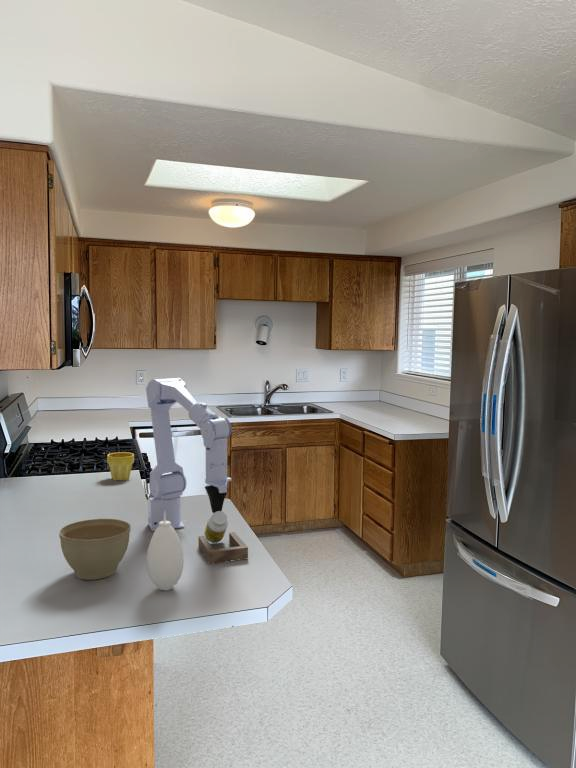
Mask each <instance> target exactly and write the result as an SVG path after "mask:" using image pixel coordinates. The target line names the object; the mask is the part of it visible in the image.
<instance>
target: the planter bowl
mask: <svg viewBox="0 0 576 768" xmlns="http://www.w3.org/2000/svg"><path fill="white" fill-rule="evenodd" d="M130 533H131V524H130V523H129V522H128V521H126V520H122V519H118V518H117V519H116V518H91V519H84V520H79V521H75V522H71V523H69V524H67V525H64V526H62V527H61V528H60V529H59V531H58V535H59V539H60V547H61V551H62V553H63V556H64V559H65V560H66V563H67V564H68V566H69V567H70V568H71V569H72V570H73V572H74V576H75V577H76V578H79V579H80V580H81V579H82V580H99V579H104V578H107V577H110V576H112V575H114V574H116V572H117V570H118V569H117V568H118V566H119V564H120V563H121V562H122V560H123V558H124V557H125V554H126V553H127V550H128V548H129V547H128V546H129V542H130Z"/></svg>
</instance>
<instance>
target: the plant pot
mask: <svg viewBox="0 0 576 768" xmlns="http://www.w3.org/2000/svg"><path fill="white" fill-rule="evenodd" d="M106 460H107V461H106V464H108V465H109V471H110V475H111V480H112V479H113V480H112V481H116V480H123V481H127V480H126V479H128V480H130V477H131V471H132V467H133V464H134V462H135V454H134V453H132V452H129V451H128V452H127V451H121V452H119V451H118V452H112V453H108V454H107V455H106Z"/></svg>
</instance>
